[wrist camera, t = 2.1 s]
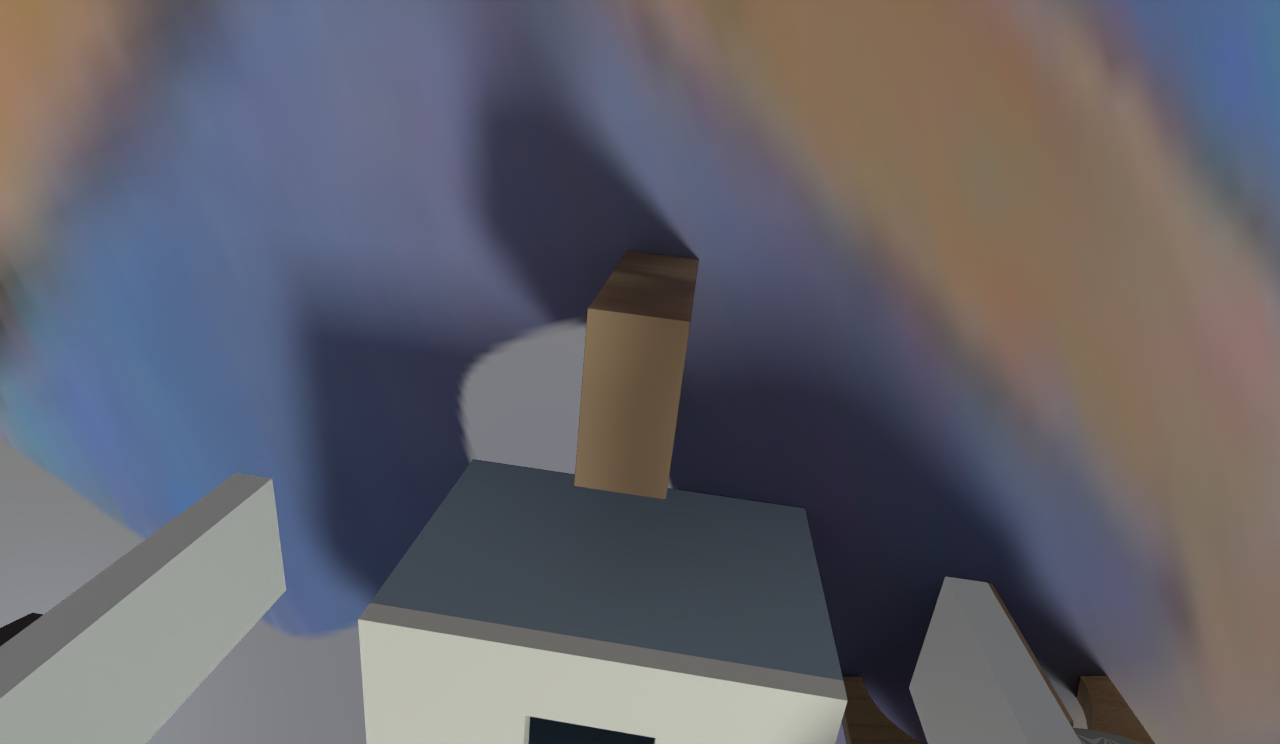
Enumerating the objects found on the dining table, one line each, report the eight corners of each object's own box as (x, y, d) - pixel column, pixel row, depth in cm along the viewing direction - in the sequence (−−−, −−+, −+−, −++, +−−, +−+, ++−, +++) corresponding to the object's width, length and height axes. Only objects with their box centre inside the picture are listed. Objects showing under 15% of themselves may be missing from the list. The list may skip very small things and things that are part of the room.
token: (614, 382, 30) (574, 485, 21) (627, 250, 28) (587, 308, 19) (680, 391, 30) (666, 499, 21) (698, 259, 27) (690, 321, 19)
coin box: (472, 459, 32) (358, 619, 22) (804, 508, 31) (847, 700, 21) (470, 677, 37) (376, 889, 27) (755, 725, 36) (769, 965, 26)
